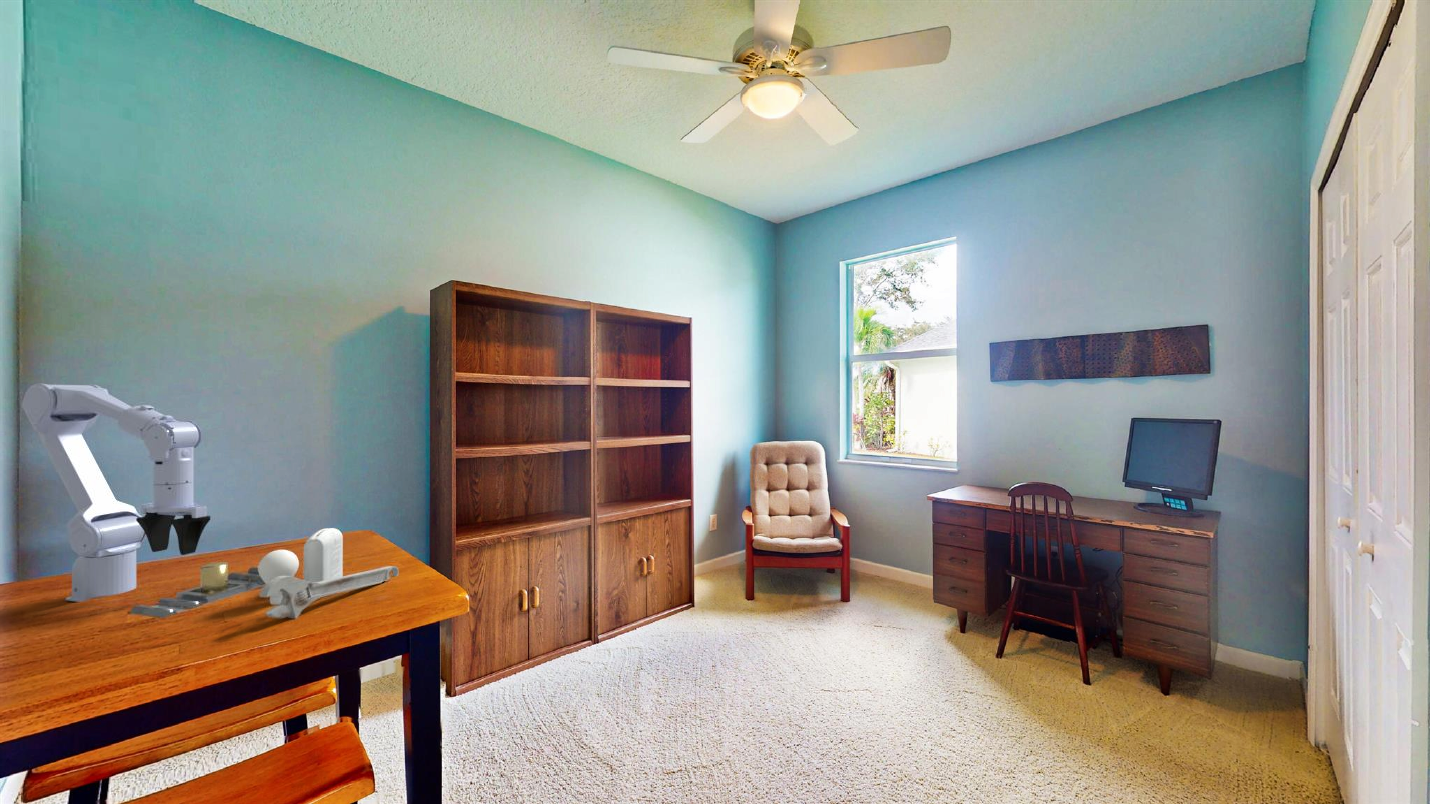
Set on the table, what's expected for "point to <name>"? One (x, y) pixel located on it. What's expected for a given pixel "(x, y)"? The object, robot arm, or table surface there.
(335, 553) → the photo printer
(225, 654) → the table surface
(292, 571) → the lightbulb
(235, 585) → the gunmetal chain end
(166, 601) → the steel chain end
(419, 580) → the table surface
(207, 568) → the brass pin
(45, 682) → the table surface
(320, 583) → the wrench
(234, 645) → the table surface
